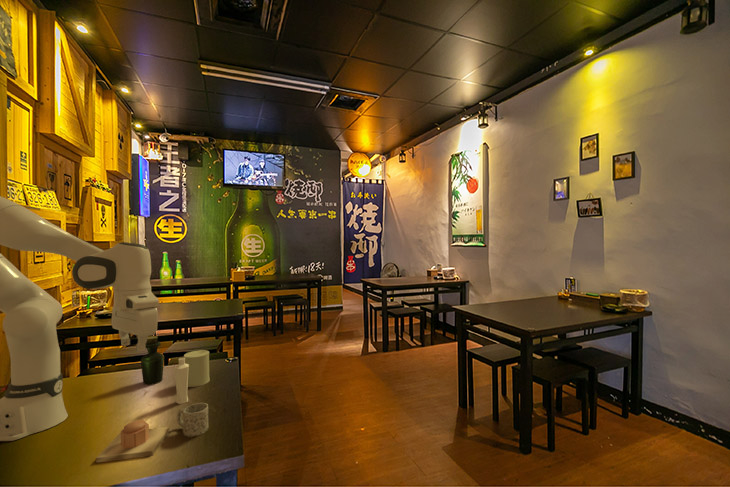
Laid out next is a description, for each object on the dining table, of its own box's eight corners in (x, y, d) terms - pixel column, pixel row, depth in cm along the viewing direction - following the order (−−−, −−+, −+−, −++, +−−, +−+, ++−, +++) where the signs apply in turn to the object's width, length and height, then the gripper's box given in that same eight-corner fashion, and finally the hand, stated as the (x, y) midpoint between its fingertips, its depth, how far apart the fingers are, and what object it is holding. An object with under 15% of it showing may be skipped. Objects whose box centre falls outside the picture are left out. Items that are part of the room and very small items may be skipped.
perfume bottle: (183, 404, 116) (183, 361, 116) (172, 403, 117) (172, 360, 117) (193, 398, 121) (192, 356, 121) (182, 397, 122) (181, 356, 122)
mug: (213, 426, 102) (213, 404, 102) (196, 438, 96) (196, 414, 96) (186, 421, 105) (186, 400, 105) (168, 433, 99) (168, 410, 99)
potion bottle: (147, 387, 131) (146, 341, 132) (137, 383, 136) (136, 338, 136) (168, 380, 138) (167, 336, 138) (158, 376, 143) (157, 333, 143)
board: (96, 462, 86) (96, 457, 86) (120, 436, 97) (120, 432, 97) (152, 455, 88) (152, 450, 88) (169, 430, 100) (169, 426, 100)
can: (214, 380, 137) (214, 351, 137) (192, 389, 129) (192, 357, 129) (201, 376, 142) (200, 347, 142) (179, 384, 134) (178, 353, 134)
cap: (128, 436, 95) (128, 420, 95) (151, 433, 96) (151, 418, 96) (117, 449, 89) (116, 432, 89) (142, 446, 90) (142, 429, 90)
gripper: (105, 297, 100) (104, 345, 99) (137, 303, 88) (136, 356, 88) (129, 295, 105) (129, 340, 105) (162, 300, 94) (162, 350, 93)
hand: (133, 347), depth 96 cm, fingers open, 8 cm apart
